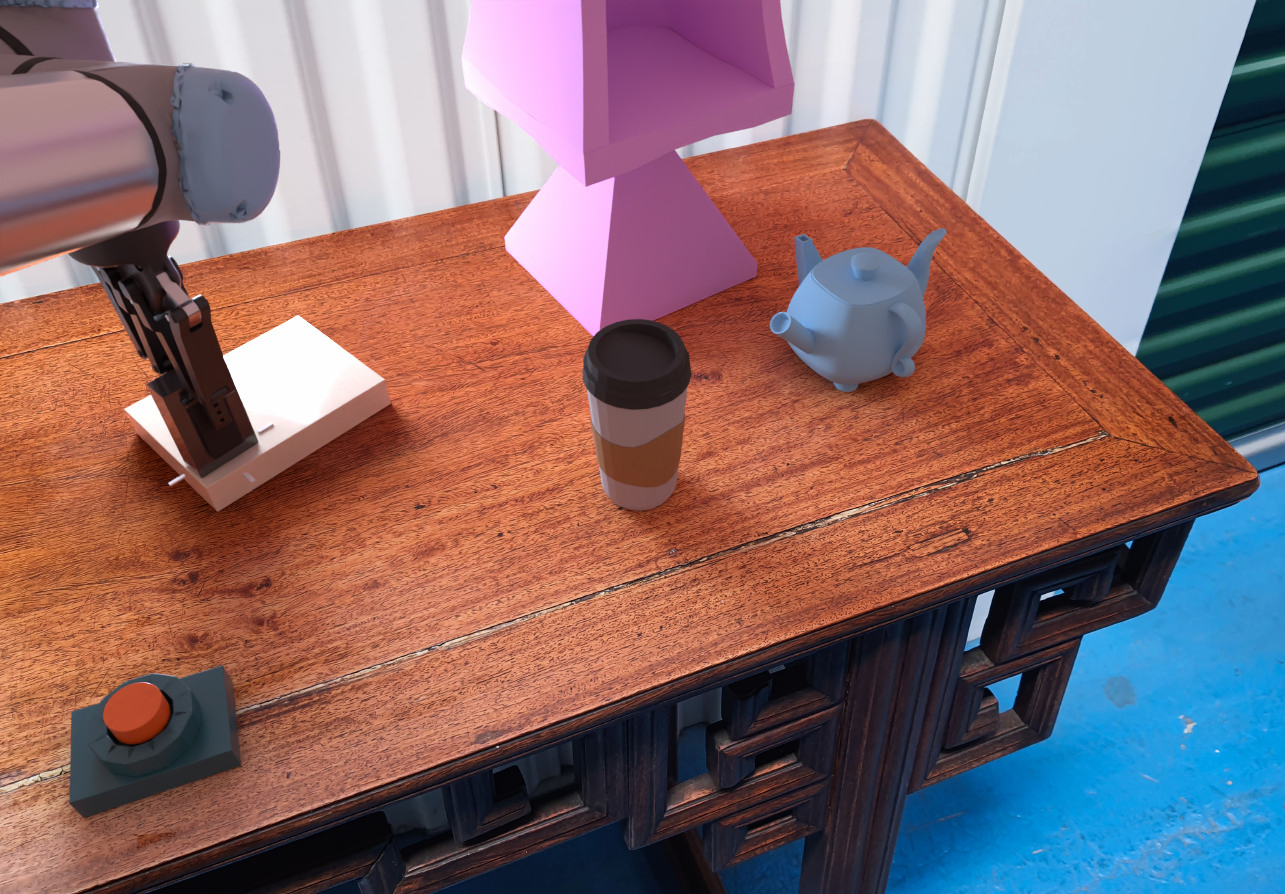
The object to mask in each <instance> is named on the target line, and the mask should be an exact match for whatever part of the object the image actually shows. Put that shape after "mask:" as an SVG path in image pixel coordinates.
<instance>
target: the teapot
mask: <svg viewBox="0 0 1285 894" xmlns="http://www.w3.org/2000/svg"><path fill="white" fill-rule="evenodd" d="M946 234H947V229H946V228H944V227H942V228H938V229H935V230H933V231H931V232H930V233H929V234H928V235H927V236H926V237H924V239H923V240H922V241H921V242H920V244H919V246H918V247H917V249H916V251H915V252H914V254H913V256H912V257H911V259H910V261H909V262H908V264H907V265H905V264H903V263H902V262H901V261H899V260H898V259H896V258H895V257H893V256H891V255H890V254H888V253H887V252H885V251H882V250H881V249H878V248H876V247H869V246H865V247H863V246H862V247H856V248H851V249H847V250H843V251H840V252H838V253H834V254H833V255H830V256H828V257H827V258H825V259H822V257H821V255H820V252H819V251H818V249H817V247H816V245H815V243H814V242H813V241H814V239H813V238H811V237H809V236H808V235H806V233H802V234H799V235H796V236H794V237H793V238H794V239H793V240H794V250H795V251H794V252H795V259H796V260H795V261H796V269H797V280H798V287H797V289H796V291H795V292H794V294H793V295H792V298H791V300H790V302H789V304H788V307H787V309H786V311H779V312H776V313H775V314H774V315H773V316H772V317H771V319H770V322H769V329H770V331H771V332H772V334H773V333H774V334H775V335H776V336H778V337H779V338H782V339H783V340H784V341H786V342H787V343H788V345H789V347H790V348H791V349H792V351H793V353H795V355H796V356H797V357H798V358H799V359H800V360H801V361H802V362H803V363H804V364H805V365H807V366H808V367H809V368H810V369H811V370H813V371H814V372H815V373H816V374H818V375H819V376H821V377H823V378H825V379H826V380H828V381H830V382H831V383H833V386H834V387H835V388H836V389H837V390H838V391H840V392H844V393H851V392H854V391H856V390H857V389H858V387H859V384H864V383H868V382H872V381H875V380H878V379H880V378H884V377H886V376H888V375H889V374H891V373H893V375H895V376H897V377H899V378H909V377H911V376H912V375H913V374H914V373H915V371H916V365H915V361H913V359H912V358H913V357H914V356H915V355H916V354H917V353H918V351H919V350H920V348H921V347H922V346H923V344H924V341H925V337H926V331H927V330H926V329H927V311H926V305H925V301H924V296H925V294H926V291H927V288H928V284H929V278H930V272H931V271H930V270H931V265H932V259H933V256H934V253H935V251H936V249H937V247H938V245H939V244H940V243H941V241H942V240H943V239H944V238H945V236H946Z"/></svg>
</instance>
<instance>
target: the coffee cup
mask: <svg viewBox="0 0 1285 894" xmlns="http://www.w3.org/2000/svg"><path fill="white" fill-rule="evenodd" d="M690 358H691V357H690V353H689V350H688V349H687V347H686V346H685V342H684V341H683V339H682V337H681V335H680V334H679V333H678V332H677V331H675V329H673V328H672V327H670V326H668V325H667V324H664V323H662V322H658V321H656V320H653V321H652V320H644V319H630V320H624V321H619V322H615V323H613V324H610V325H608V326H606V327H604V328H603V329H601V330H600V331H598V332H597V333H596V334H595V335H594V337H593V336H592V338H590V341H589V343H588V346H587V348H586V349H585V353H584V356H583V359H582V360H583V361H582V364H583V365H582V366H583V367H582V381H583V384H584V386H585V388H586V394H587V399H588V405H589V411H590V426H591V432H592V438H593V444H594V445H593V446H594V451H595V458H596V462H597V464H598V469H599V470H598V471H599V475H600V480H601V481H600V483H601V486H602V489H603V493H605V495H606V496H607V497H608V498H609V499H610V500H611V502H613V504H616V505H617V506H618V507H621V508H623V509H625V510H629V511H630V510H631V511H637V512H638V511H649V510H652V509H655V508H657V507H659V506H661V505H662V504H664V503H665V502H666V501H668V500H669V498H670V497H671V496H672V495H673V493H674V491H675V490H676V486H677V484H678V483H677V482H678V474H679V467H680V466H679V465H680V461H681V457H682V447H683V439H684V432H685V431H684V430H685V422H686V404H687V396H688V387H689V385H690V383H691V378H692V376H693V375H692V367H691V359H690Z"/></svg>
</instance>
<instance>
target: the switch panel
mask: <svg viewBox="0 0 1285 894" xmlns="http://www.w3.org/2000/svg"><path fill="white" fill-rule="evenodd" d="M223 356H224V359H225V362H226V363H227V366H228V368H229V371H230V373H231V375H232V378H233V380H234V383H235V385H236V388H237V390H238V393H239V395H240V398H241V400H242V402H243V405H244V407H245V410H246V412H247V415H248V417H249V420H250V422H251V424H252V427H253V429H254V432H255V434H256V437H257V439H258V442H259V443H257V444H256V445H254V446H252V447H251V448H249V449H248V450H246V451H245V452H243V453H241V454H240V455H238V456H237V457H235V458H233V459H232V460H230V461H229V462H227V463H225V464H224V465H222V466H221V467H219V468H218V469H216V470H214V471H213V472H211V473H210V474H208V475H206V476H205V477H203V478H200V477H199V476H198V475H197V474H196V473H195V472H194V471H192V470H191V469H190V468H189V467H188V466H187V465H186V464H185V463H184V461H183V458H182V456H181V454H180V452H179V450H178V448H177V446H176V444H175V442H174V440H173V438H172V436H171V434H170V432H169V430H168V428H167V426H166V424H165V422H164V420H163V418H162V416H161V414H160V412H159V410H158V408H157V406H156V404H155V402H154V400H153V398H152V396H151V394H149V395H148V396H146V397H144V398H142V399H141V400H139V401H136V402H135V403H132V404H131V405H129V406H127V407H125V408H124V409H123V411H124V412H125V414H126V416H127V418H128V420H129V422H130V423H131V426H132V428H133V429H134V431H135V434H137V435H138V436H139V437H140V438H141V439H142V440H143V442H145V444H147V445H148V446H149V447H150V448H151V449H152V450H153V451H154V452H155V453H156V454H157V455H158V456H159V457H160V458H161V459H162V460H164V462H165V463H166V464H168V466H170V467H171V469H173V470H174V471H175V473H177V474H178V475H179V476H177V477H176V478H173V479H172V480H171V481H169V482H168V483H167V484H168V485H169V486H170V487H172V486H174V485H176V484H177V483H179V482H181V481H183V480H184V481H185V482H186V483H187V484H188V485H189V486H190V487H191V488H192V489H193V490H194V491H195V492H196V493H198V495H199V496H200V497H202V499H204V501H205V502H206V503H208V504H209V505H210V506H211V507H212V508H213V509H214V510H215V511H216V513H217V512H220V511H222V510H223V509H225V508H227V507H228V506H229V505H231V504H232V503H234V502H236V501H238V500H239V499H241V498H243V497H244V496H245V495H247V494H249V493H250V492H253V491H254V490H255V489H257V488H258V487H260V486H262V485H264V484H265V483H266V482H268V481H269V480H272V479H273V478H274V477H276V476H278V475H279V474H281V473H282V472H284V471H285V470H287V469H289V468H290V467H292V466H293V465H295V464H297V463H298V462H300V461H301V460H304V459H305V458H307V457H308V456H310V455H312V454H313V453H314V452H316V451H318V450H319V449H321V448H322V447H324V446H326V445H327V444H329V443H330V442H332V441H334V440H335V439H337V438H339V437H340V436H342V435H343V434H345V433H346V432H348V431H350V430H351V429H353V428H354V427H356V426H358V425H359V424H361V423H362V422H364V421H366V420H367V419H369V418H370V417H372V416H374V415H375V414H377V413H378V412H380V411H382V410H383V409H385V408H387V407H388V406H390V405H391V404H392V401H391V395H390V393H389V389H388V385H387V382H386V381H387V380H386V379H385V378H384V377H383V376H381V375H379V373H377V372H376V371H374V370H373V369H371V368H370V366H367V365H366V364H365V363H364V362H362V361H361V360H359V358H357V357H356V356H354V355H353V354H351V353H350V352H348V351H347V350H346V349H345V348H343V347H341V346H340V345H339V344H338V343H336V342H335V341H333V340H332V339H331V338H329V337H328V336H327V335H325V334H324V333H322V332H321V331H320V330H319V329H318V328H316V327H314V326H313V325H312V324H310V323H309V322H307V321H306V320H305V319H303V318H302V317H301V316H300V315H296V316H294V317H293V318H290V319H289V320H288V321H286V322H283V323H282V324H280V325H278V326H276V327H274V328H272V329H271V330H269V331H267V332H265V333H263V334H260V335H259V336H258V337H256V338H254V339H252V340H250V341H248V342H246V343H244V344H242V345H240V346H239V347H237V348H235V349H234V350H231V351H229V352H228V353H226V354H223Z"/></svg>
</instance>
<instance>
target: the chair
mask: <svg viewBox="0 0 1285 894" xmlns="http://www.w3.org/2000/svg"><path fill="white" fill-rule="evenodd" d="M470 3H471V4H470V10H469V17H468V23H467V28H466V33H465V38H464V43H463V48H462V54H461V65H462V71H463V79H464V87H465V89H467V91H469V92H470V93H472V95H474V96H475V97H476V98H477V99H479V100H480V101H481V102H482V103H484V104H485V105H486V106H487V107H488V108H491V109H493V110H494V111H496V112H497V113H499V114H500V115H503V116H504V117H506V118H507V119H509V120H510V121H512V122H513V123H514V125H516V126H517V127H519V128H520V129H521V130H522V131H523V132H525V133H526V134H527V135H528V136H530V137H531V138H532V139H533V140H534V141H535V142H536V143H537V144H538V145H539V146H540V147H541V148H542V149H543V150H544V151H545V152H546V154H548V155H549V156H550V157H551V159H553V160H554V162H556V164H558V166H557V168H555V170H554V172H553V173H551V175H550V177H549V178H548V179H547V180H546V182H545V183H544V184H543V186H542V187H541V188H540V190H538V192H537V193H536V195H535V196H534V198H532V200H531V202H530V203H529V204H528V205H527V207H526V208H525V209H524V211H523V212H522V213H521V215H520V216H519V217H518V219H517V220H516V221H515V223H514V224H513V225H512V226H511V228H510V229H509V231H508V232H507V233H506V234H505V236H504V237H503V238H504V244H505V250H506V252H507V253H508V254H509V255H510V256H512V257H513V258H514V259H515V261H516V262H517V263H518V264H519V265H521V266H522V267H523V269H524V270H526V271H527V272H528V273H529V274H530V275H531V276H532V277H533V279H535V281H537V282H538V283H539V284H540V285H541V286H542V288H544V290H546V291H547V292H548V293H549V294H550V295H551V296H552V297H553V298H554V299H555V300H556V301H557V302H558V303H559V304H560V305H561V306H562V307H563V308H564V309H565V310H566V311H567V312H568V313H569V314H570V315H571V316H572V317H573V319H575V320H576V321H577V322H578V323H579V324H580V325H581V326H582V327H583V328H584V329H585V330H586V331H587V332H588V333H589V334H590V335H591V336H592V338H593V337H594V335H595V334H596V333H597V332H598V331H600V330H601V329H603V328H604V327H606V326H608V325H610V324H613V323H615V322H619V321H624V320H630V319H644V320H652V321H656V320H659V319H660V318H663V317H665V316H667V315H670V314H672V313H674V312H676V311H679V310H681V309H684V308H687V307H688V306H690V305H691V306H692V305H694V304H696V303H698V302H700V301H703V300H706V299H707V298H709V297H712V296H715V295H717V294H719V293H721V292H723V291H726V290H728V289H731V288H733V287H735V286H738V285H740V284H742V283H744V282H747V281H749V280H751V279H754V278H756V277H757V275H758V261H757V260H756V259H755V258H754V256H753V255H752V254H751V252H750V251H749V249H748V248H747V247H746V246H745V244H744V242H743V241H742V240H741V239H740V237H739V236H738V234H737V233H736V231H735V230H734V229H733V227H732V226H731V225H730V223H729V222H728V220H727V219H726V218H725V217H724V215H723V214H722V212H721V210H719V208H718V207H717V205H716V204H715V203H714V202H713V200H712V199H711V198H710V196H709V194H708V193H707V192H706V190H705V189H704V188H703V186H702V185H701V184H700V182H699V181H698V180H697V178H696V177H695V175H694V174H693V172H692V171H691V170H690V169H689V167H688V166H687V165H686V163H685V161H684V160H683V159H682V158H681V156H680V155H679V154H678V153H679V152H677V151H676V150H679V149H680V148H681V149H682V148H684V147H686V146H689V145H692V144H695V143H697V142H701V141H704V140H706V139H709V138H712V137H715V136H720V135H725V134H730V133H735V132H739V131H744V130H748V129H753V128H756V127H759V126H762V125H764V124H767V123H770V122H773V121H776V120H779V119H781V118H784V117H787V116H791V115H792V112H793V103H794V92H795V80H794V74H793V70H792V65H791V60H790V55H789V52H788V46H787V40H786V35H785V29H784V22H783V14H782V4H781V0H471V2H470Z"/></svg>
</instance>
